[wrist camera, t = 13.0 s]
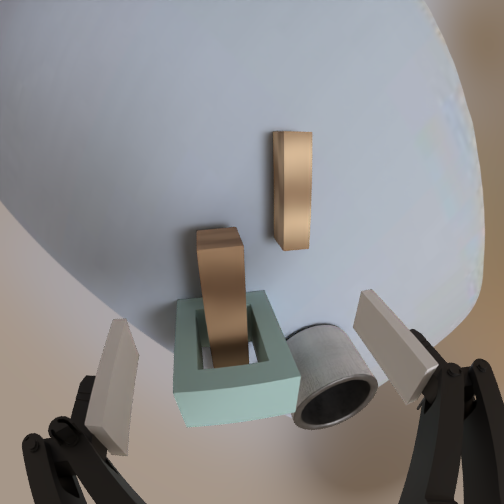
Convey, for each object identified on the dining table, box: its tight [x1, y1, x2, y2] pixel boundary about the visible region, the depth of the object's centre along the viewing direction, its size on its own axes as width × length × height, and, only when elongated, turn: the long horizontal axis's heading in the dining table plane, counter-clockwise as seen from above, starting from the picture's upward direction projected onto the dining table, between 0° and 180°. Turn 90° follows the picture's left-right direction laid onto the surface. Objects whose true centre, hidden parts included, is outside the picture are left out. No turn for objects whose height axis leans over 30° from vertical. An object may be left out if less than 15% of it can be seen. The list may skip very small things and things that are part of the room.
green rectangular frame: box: [173, 290, 301, 427], centre depth 29 cm, size 6×11×14 cm, turn 92°
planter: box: [286, 325, 378, 430], centre depth 37 cm, size 13×13×11 cm
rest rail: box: [273, 131, 312, 251], centre depth 28 cm, size 12×3×4 cm, turn 2°
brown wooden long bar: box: [197, 227, 249, 368], centre depth 30 cm, size 22×4×5 cm, turn 2°
